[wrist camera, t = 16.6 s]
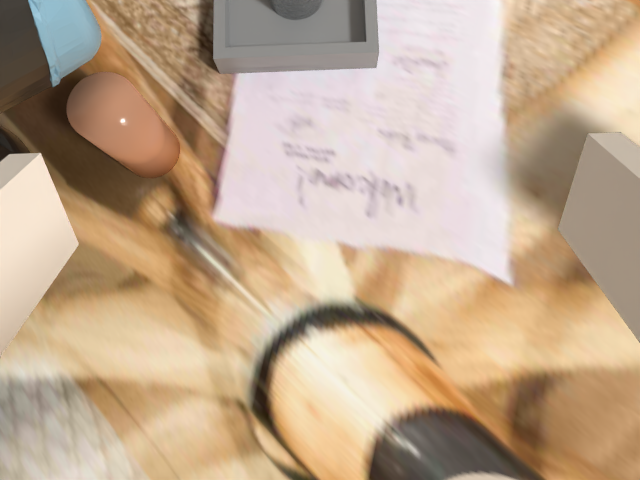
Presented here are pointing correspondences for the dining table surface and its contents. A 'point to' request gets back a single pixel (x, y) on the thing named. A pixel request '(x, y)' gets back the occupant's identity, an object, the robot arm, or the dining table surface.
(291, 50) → the tray
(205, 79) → the dining table surface
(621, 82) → the dining table surface
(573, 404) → the dining table surface
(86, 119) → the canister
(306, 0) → the steel roller
